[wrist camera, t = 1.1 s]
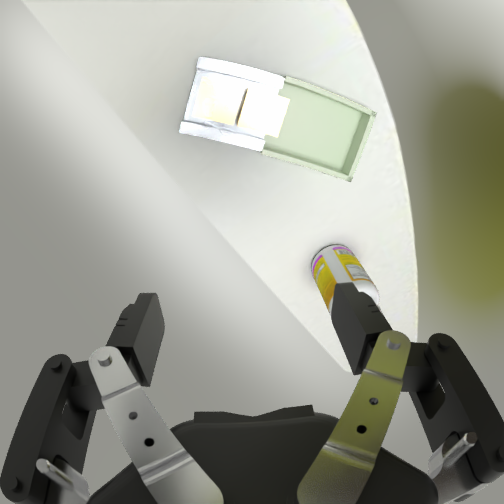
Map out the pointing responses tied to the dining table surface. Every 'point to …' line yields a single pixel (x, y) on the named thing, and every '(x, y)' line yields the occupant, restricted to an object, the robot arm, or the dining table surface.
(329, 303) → the supplement bottle
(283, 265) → the dining table surface
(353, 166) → the tray
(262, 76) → the slot rail
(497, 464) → the robot arm
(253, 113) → the brass block
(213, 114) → the brass block
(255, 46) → the dining table surface
